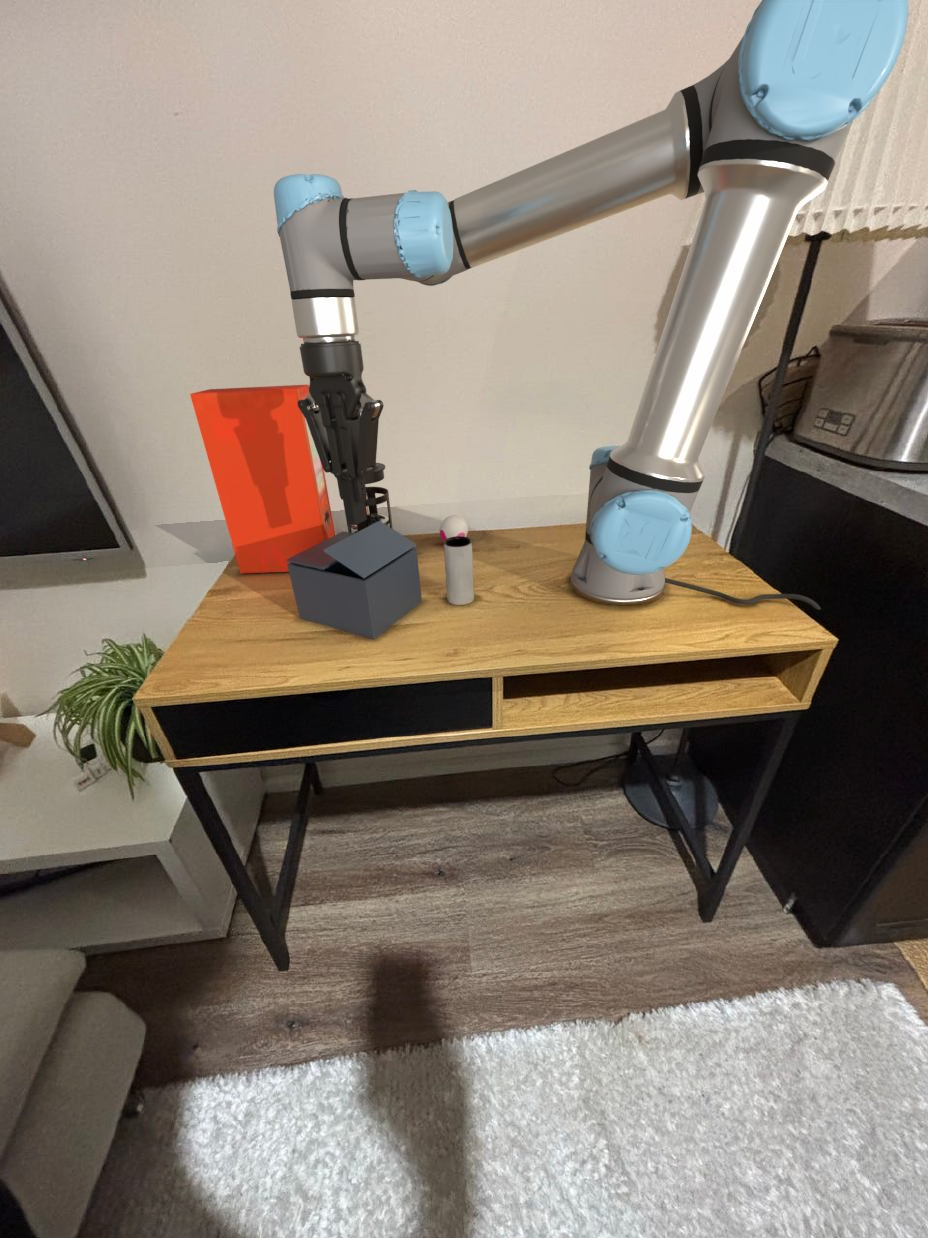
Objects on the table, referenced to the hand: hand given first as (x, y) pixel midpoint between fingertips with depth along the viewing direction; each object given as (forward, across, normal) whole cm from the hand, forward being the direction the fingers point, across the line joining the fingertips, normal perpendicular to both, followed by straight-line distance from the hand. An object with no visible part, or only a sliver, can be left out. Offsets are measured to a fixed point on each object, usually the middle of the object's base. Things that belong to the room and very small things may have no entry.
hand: (357, 521), depth 76 cm
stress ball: (+16, +3, -31) cm, 35 cm away
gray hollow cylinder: (+16, -11, -10) cm, 22 cm away
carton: (+15, +2, 0) cm, 15 cm away
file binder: (+16, +27, -9) cm, 32 cm away
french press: (+16, +16, -21) cm, 31 cm away
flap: (+4, -2, 0) cm, 4 cm away
